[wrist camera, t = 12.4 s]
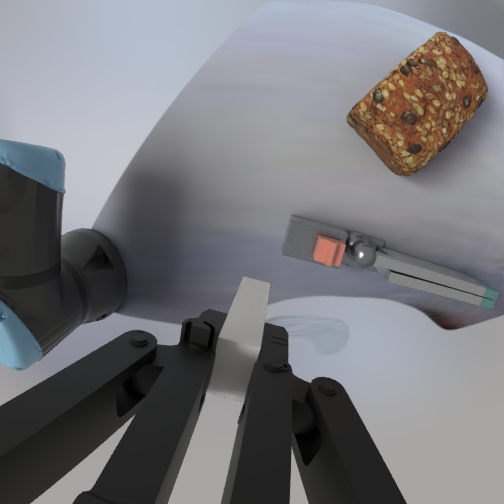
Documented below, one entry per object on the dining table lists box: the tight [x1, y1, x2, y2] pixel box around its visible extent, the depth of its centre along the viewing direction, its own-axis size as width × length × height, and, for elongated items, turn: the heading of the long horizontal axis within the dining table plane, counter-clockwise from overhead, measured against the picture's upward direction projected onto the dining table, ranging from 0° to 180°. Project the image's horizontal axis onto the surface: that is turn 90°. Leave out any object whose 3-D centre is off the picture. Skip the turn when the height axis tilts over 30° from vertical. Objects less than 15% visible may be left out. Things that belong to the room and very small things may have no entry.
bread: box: [346, 32, 488, 176], centre depth 29 cm, size 19×11×10 cm, turn 135°
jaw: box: [350, 240, 499, 300], centre depth 35 cm, size 23×2×7 cm, turn 77°
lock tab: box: [313, 235, 346, 266], centre depth 34 cm, size 3×3×3 cm
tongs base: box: [282, 215, 496, 309], centre depth 36 cm, size 31×4×7 cm, turn 77°
